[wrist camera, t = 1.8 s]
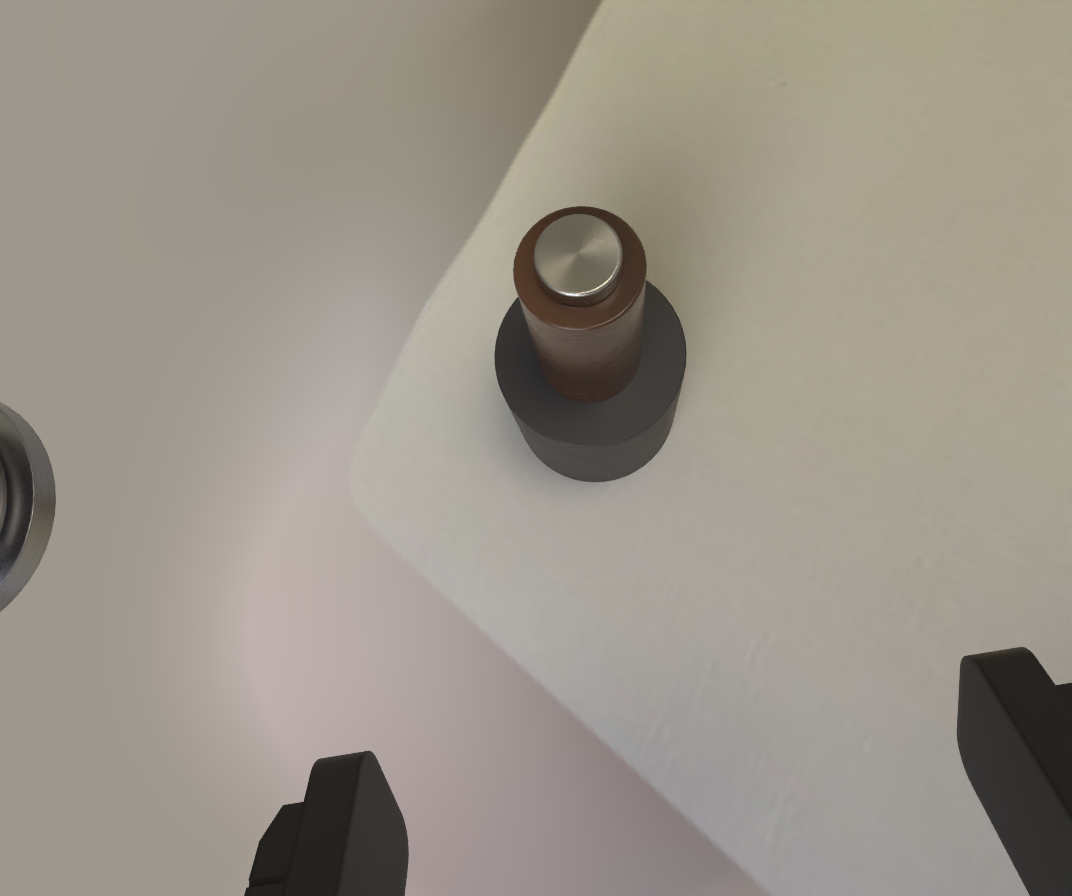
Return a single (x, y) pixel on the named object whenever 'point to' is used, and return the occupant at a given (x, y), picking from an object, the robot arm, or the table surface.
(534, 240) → the pepper mill
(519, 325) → the stand
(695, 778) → the table surface
